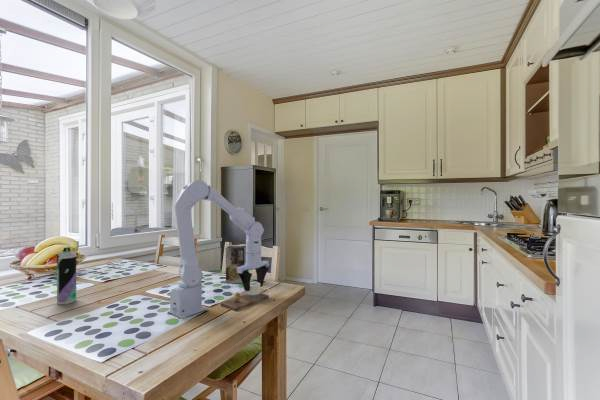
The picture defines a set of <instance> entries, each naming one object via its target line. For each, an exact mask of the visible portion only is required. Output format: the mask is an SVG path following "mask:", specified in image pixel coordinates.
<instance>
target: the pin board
mask: <svg viewBox="0 0 600 400" xmlns="http://www.w3.org/2000/svg"><path fill="white" fill-rule="evenodd" d="M269 298H270V297H269V294H265V293H262V292H260V297H258V298H248V297H247V293H245V294H242V295H240V292H235V293H234V298H231V299H228V300H225V301H222V302H220V306H222V307H223V308H226V309H229V310H231V311H235V312H236V311H239V310H242V309H243V308H244V309H245V308H246V307H249V306H253V305H254V304H257V303H259V302H262V301H264V300H267V299H269Z"/></svg>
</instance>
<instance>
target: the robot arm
mask: <svg viewBox="0 0 600 400" xmlns="http://www.w3.org/2000/svg"><path fill="white" fill-rule="evenodd" d="M202 200H204V201H210V202H212V203H213V204H215V205H217V207H219V208H221V210H223V211H224V212H225V213H227V214H228V215H229V220H230V221H231V222H233V223H234V224H235V225H236V226H237V227H238V228H240V229H241V230H242V231H243V232H244V234H245V236H246V237H245V238H246V239H245V246H246V263H245V265H242V266H240V267H237V273H238V275H239V276H240V278H241V280H242V283H241V284H242V287H243V290H244V291H245V292H247V291H249V290H250V282H251V280H252V276H253V273H252V272H250V271H252V270H255V273H256V282H258V283H260V288H261V287H263V286H264V282H265V277H266V275H267V273H268V272H269V266H270V264H269V263H270V262H269V260H262V235H263V233H264V231H265V229H264V227H263V224H262V223H261V222H260V221H255V220H256V218H255V217H254V216H251V215H250V214H248V212H247V209H245V208H243V207H235V206H234V205H233V204H232V203H231V202H230V201H228V200H227V198H225V197H224V196H222V194H221V193H219V192H218V191H217V190H216V189H215V188H214V187H212V186H211V185H208V184H207V183H206V182H205V181H204V180H202V179H197V180H193V181H191V182H188V183H187V184H186V185H185V186H184V187H183V188H182V189H181V192H180V193H179V195H178V197H177V199H176V201H175V202H174V205H173V207H174V208H173V209H174V214H175V216H174V217H175V222H176V231H177V237H178V238H177V239H178V245H179V253H180V259H179V260H180V265H179V269H178V275H179V277H180V278H181V280H180V281H179V282H178V286H177V287H175V288H172V289H171V291H170V297H169V300H170V301H169V302H170V303H169V304H170V306H169V307H170V309H169V311H168V313H169V314H171V315H173V316H176V317H178V318H180V319H183V318H187V317H189V316H192V315H196V314H198V313H201V312H204V311H207V310H208V307H206V306H204V305H203V303H202V302H203V301H202V300H203V297H202V296H203V294H202V293H203V284H202V283H203V282H202V280H203V277H204V275H203V274H204V273H203V271H202V270H201V268H200V267H199V261H198V257H197V254H196V246H195V236H194V229H193V221H192V213H191V210H192V208H193V207H194V206H195V205H196V204H198V202H200V201H202Z"/></svg>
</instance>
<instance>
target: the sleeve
mask: <svg viewBox="0 0 600 400" xmlns="http://www.w3.org/2000/svg"><path fill="white" fill-rule="evenodd" d="M260 293H261V287H260V283H258V282H257V281H252V282H251V281H250V290H249V291H246V294H247V297H248V298H258V297H260Z"/></svg>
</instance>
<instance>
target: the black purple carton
mask: <svg viewBox="0 0 600 400" xmlns="http://www.w3.org/2000/svg"><path fill="white" fill-rule="evenodd" d="M76 301H77V253H76V252H74V251H73V250H71V247H63V249H62V250H61V252H60V253H58V254H57V256H56V304H57V305H66V304H67V305H68V304H71V303H75V302H76Z"/></svg>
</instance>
